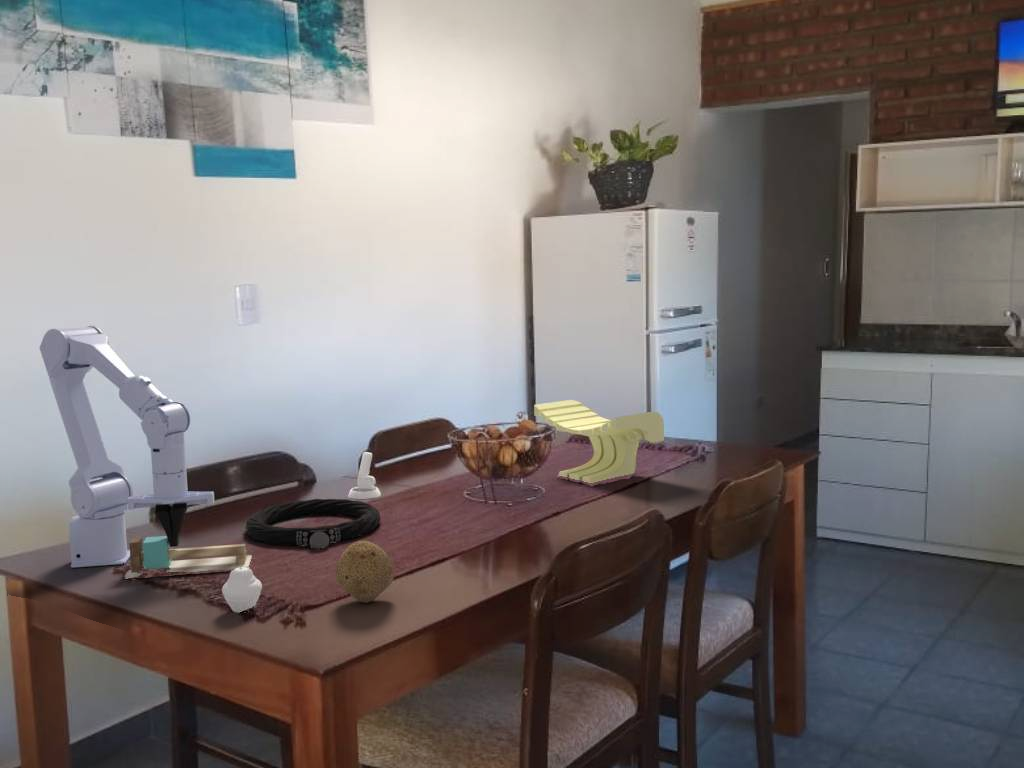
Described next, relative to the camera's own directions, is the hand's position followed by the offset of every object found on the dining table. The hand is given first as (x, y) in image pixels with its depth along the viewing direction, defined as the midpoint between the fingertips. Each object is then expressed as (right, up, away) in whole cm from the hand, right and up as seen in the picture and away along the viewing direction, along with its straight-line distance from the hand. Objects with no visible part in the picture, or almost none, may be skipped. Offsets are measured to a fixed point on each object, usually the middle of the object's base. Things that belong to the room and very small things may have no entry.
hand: (174, 545), depth 174 cm
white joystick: (+26, +2, +56) cm, 61 cm away
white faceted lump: (+18, -7, -20) cm, 28 cm away
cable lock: (+20, -2, +26) cm, 33 cm away
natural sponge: (+37, -6, -18) cm, 42 cm away
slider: (-3, -4, 0) cm, 5 cm away
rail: (+3, -5, +1) cm, 5 cm away
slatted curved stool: (+82, +5, +68) cm, 107 cm away
